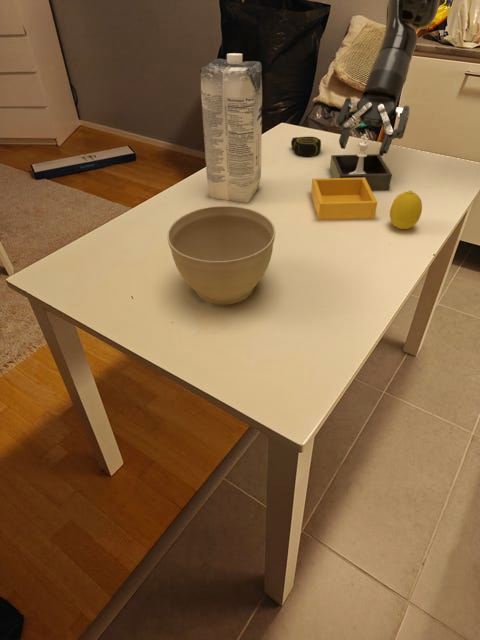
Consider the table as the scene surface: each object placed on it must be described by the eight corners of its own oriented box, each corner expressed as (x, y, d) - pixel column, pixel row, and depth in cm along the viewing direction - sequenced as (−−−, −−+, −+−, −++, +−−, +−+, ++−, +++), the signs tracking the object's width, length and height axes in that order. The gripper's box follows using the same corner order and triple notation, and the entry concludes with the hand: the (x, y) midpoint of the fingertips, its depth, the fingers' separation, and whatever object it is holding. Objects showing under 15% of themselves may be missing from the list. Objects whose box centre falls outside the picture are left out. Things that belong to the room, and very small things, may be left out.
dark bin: (376, 171, 108) (379, 154, 106) (388, 192, 100) (392, 174, 97) (329, 172, 108) (331, 155, 106) (337, 193, 100) (339, 176, 97)
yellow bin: (361, 195, 100) (364, 177, 97) (373, 221, 91) (377, 202, 89) (310, 196, 99) (312, 178, 97) (317, 222, 91) (320, 203, 88)
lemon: (396, 219, 92) (405, 181, 86) (421, 229, 89) (432, 191, 83) (380, 230, 89) (388, 191, 83) (406, 240, 86) (416, 201, 80)
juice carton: (250, 208, 96) (250, 63, 78) (204, 200, 99) (193, 59, 81) (263, 189, 102) (266, 52, 84) (219, 183, 105) (213, 48, 87)
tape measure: (316, 148, 119) (318, 133, 117) (322, 159, 114) (324, 144, 112) (290, 149, 119) (291, 135, 116) (295, 160, 114) (296, 145, 111)
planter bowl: (244, 251, 84) (244, 196, 77) (291, 300, 73) (295, 242, 66) (161, 276, 79) (152, 219, 71) (198, 333, 68) (192, 273, 61)
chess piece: (359, 186, 101) (367, 140, 95) (342, 178, 104) (348, 134, 98) (373, 179, 104) (381, 134, 97) (356, 172, 107) (363, 128, 100)
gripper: (352, 64, 97) (326, 136, 97) (421, 71, 92) (393, 148, 92) (356, 84, 104) (332, 152, 104) (420, 92, 99) (395, 164, 99)
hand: (361, 150), depth 98 cm, fingers open, 8 cm apart
